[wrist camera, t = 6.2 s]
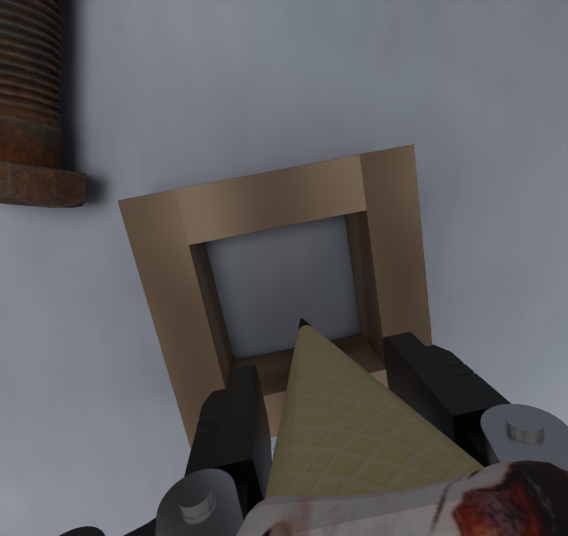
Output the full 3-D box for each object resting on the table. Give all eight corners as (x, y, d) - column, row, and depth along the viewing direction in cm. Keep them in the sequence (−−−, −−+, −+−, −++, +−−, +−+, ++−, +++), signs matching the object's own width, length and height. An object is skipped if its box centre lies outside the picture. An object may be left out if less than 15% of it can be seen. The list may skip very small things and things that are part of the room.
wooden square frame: (379, 153, 18) (413, 144, 14) (403, 361, 21) (437, 400, 17) (147, 197, 18) (117, 200, 14) (204, 403, 21) (192, 454, 17)
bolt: (86, -128, 16) (75, 201, 19) (-67, -217, 13) (-55, 188, 16) (108, -246, 12) (89, 213, 14) (-119, -423, 9) (-90, 197, 11)
